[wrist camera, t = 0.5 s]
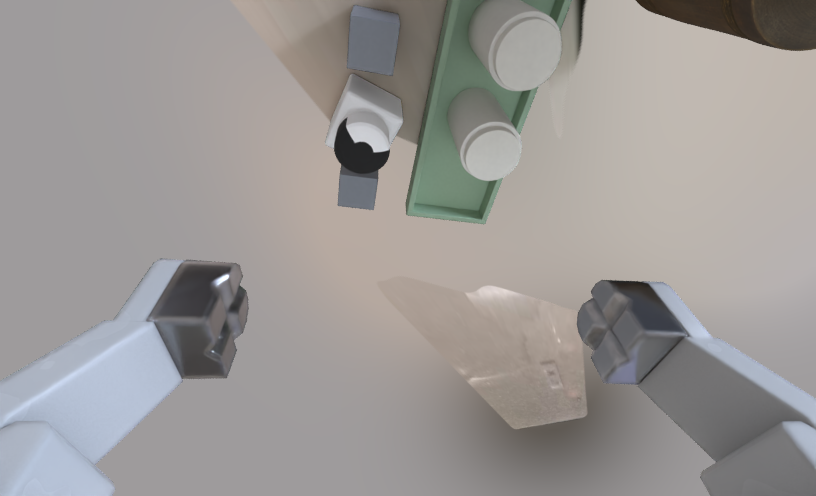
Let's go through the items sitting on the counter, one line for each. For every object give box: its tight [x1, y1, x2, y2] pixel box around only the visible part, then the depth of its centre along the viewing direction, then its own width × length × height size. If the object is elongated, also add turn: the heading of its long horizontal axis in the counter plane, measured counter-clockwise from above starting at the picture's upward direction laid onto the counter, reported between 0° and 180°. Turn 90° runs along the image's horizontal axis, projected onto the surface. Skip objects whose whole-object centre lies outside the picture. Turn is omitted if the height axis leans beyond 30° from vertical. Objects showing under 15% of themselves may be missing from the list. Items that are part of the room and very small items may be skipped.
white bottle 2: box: [447, 88, 522, 181], centre depth 45 cm, size 7×7×12 cm
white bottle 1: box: [468, 0, 562, 91], centre depth 38 cm, size 7×7×12 cm
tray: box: [406, 0, 572, 224], centre depth 49 cm, size 32×13×3 cm, turn 170°
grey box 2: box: [338, 165, 378, 210], centre depth 52 cm, size 5×5×6 cm
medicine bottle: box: [325, 74, 404, 174], centre depth 44 cm, size 7×7×12 cm
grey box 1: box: [347, 5, 400, 76], centre depth 41 cm, size 5×5×6 cm
